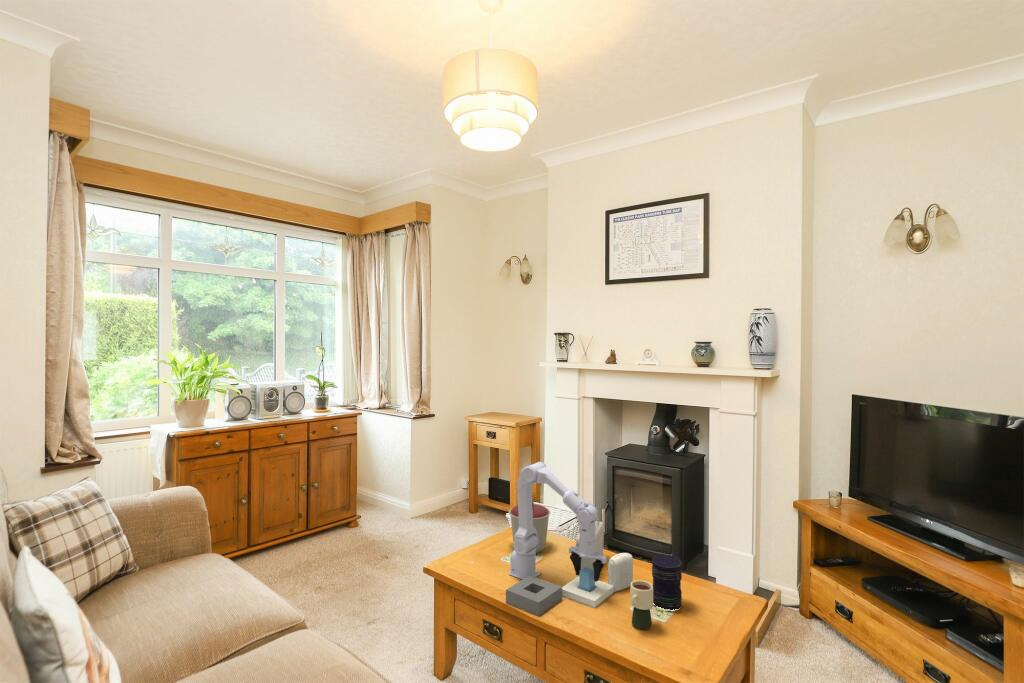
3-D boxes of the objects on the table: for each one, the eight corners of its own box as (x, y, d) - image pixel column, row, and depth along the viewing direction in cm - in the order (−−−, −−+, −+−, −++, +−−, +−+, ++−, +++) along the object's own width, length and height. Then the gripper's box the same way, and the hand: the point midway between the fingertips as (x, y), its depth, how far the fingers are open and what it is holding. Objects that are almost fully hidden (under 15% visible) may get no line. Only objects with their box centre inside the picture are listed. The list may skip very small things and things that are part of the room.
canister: (537, 561, 214) (537, 510, 214) (500, 551, 224) (500, 502, 223) (557, 546, 229) (557, 499, 229) (522, 538, 239) (523, 492, 239)
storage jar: (650, 608, 177) (650, 564, 177) (653, 595, 186) (653, 553, 186) (680, 614, 173) (680, 569, 173) (682, 600, 182) (682, 557, 182)
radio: (585, 554, 221) (585, 495, 220) (604, 557, 218) (604, 498, 217) (571, 576, 200) (572, 511, 200) (593, 580, 197) (593, 514, 197)
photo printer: (626, 581, 196) (626, 549, 196) (634, 586, 192) (634, 552, 192) (606, 588, 190) (606, 555, 190) (614, 593, 187) (614, 559, 187)
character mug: (640, 615, 172) (640, 576, 172) (660, 623, 167) (660, 583, 167) (622, 628, 165) (622, 587, 164) (642, 637, 160) (642, 594, 159)
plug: (579, 593, 186) (579, 570, 186) (586, 588, 190) (586, 566, 190) (589, 596, 183) (589, 574, 183) (595, 591, 187) (595, 569, 187)
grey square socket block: (505, 602, 180) (505, 589, 180) (529, 587, 191) (529, 575, 191) (538, 616, 172) (538, 602, 171) (561, 599, 182) (561, 586, 182)
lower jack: (560, 595, 185) (560, 588, 185) (580, 581, 196) (580, 574, 196) (594, 608, 177) (594, 601, 176) (614, 592, 187) (614, 585, 187)
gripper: (564, 538, 188) (564, 575, 188) (599, 548, 179) (599, 587, 179) (574, 532, 193) (574, 568, 193) (609, 542, 184) (609, 580, 184)
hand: (587, 577), depth 186 cm, fingers open, 7 cm apart
